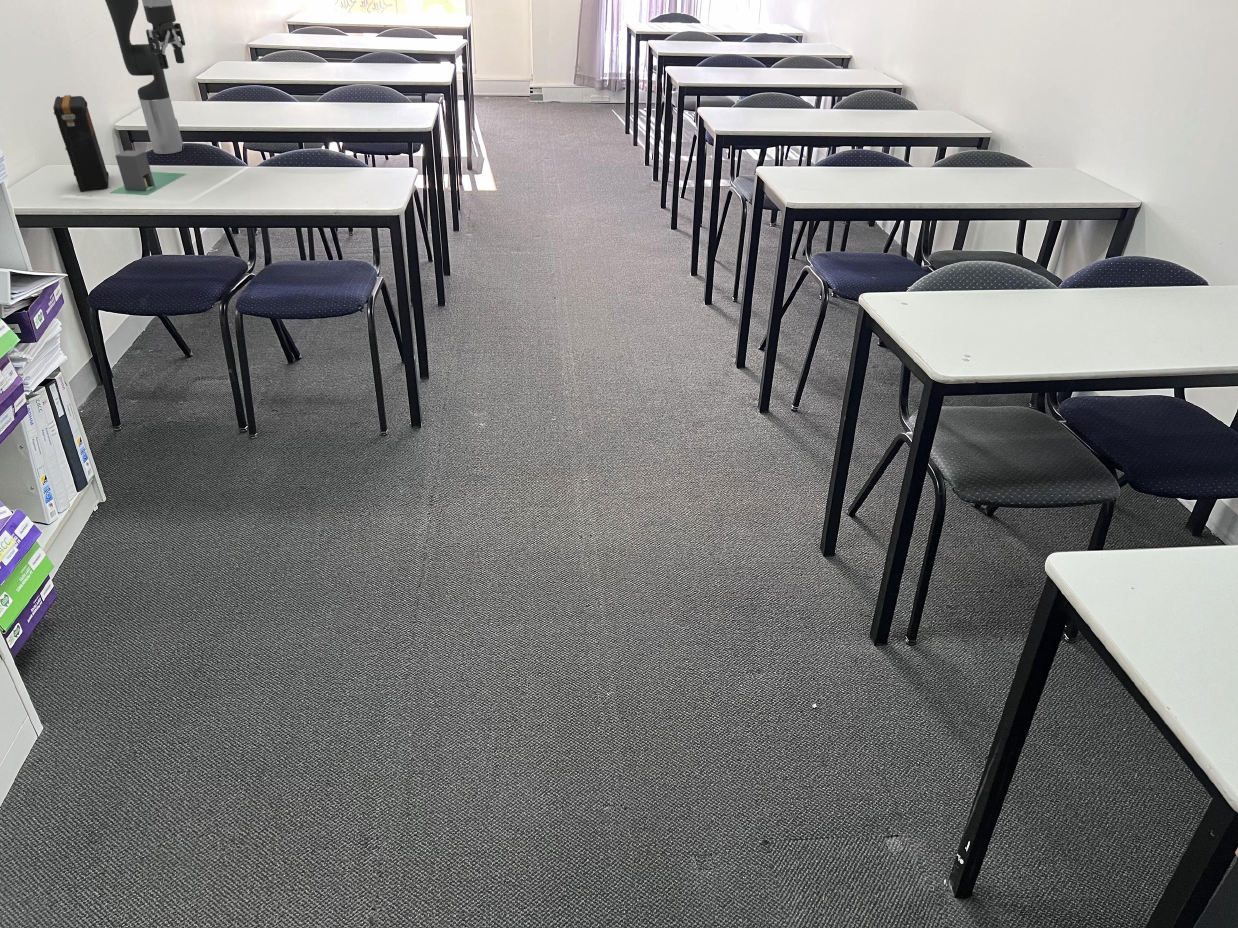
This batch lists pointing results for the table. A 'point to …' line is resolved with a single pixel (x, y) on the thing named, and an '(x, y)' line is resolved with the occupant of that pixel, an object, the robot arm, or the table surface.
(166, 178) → the header board
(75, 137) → the black bag
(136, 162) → the plug housing
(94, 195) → the table surface
